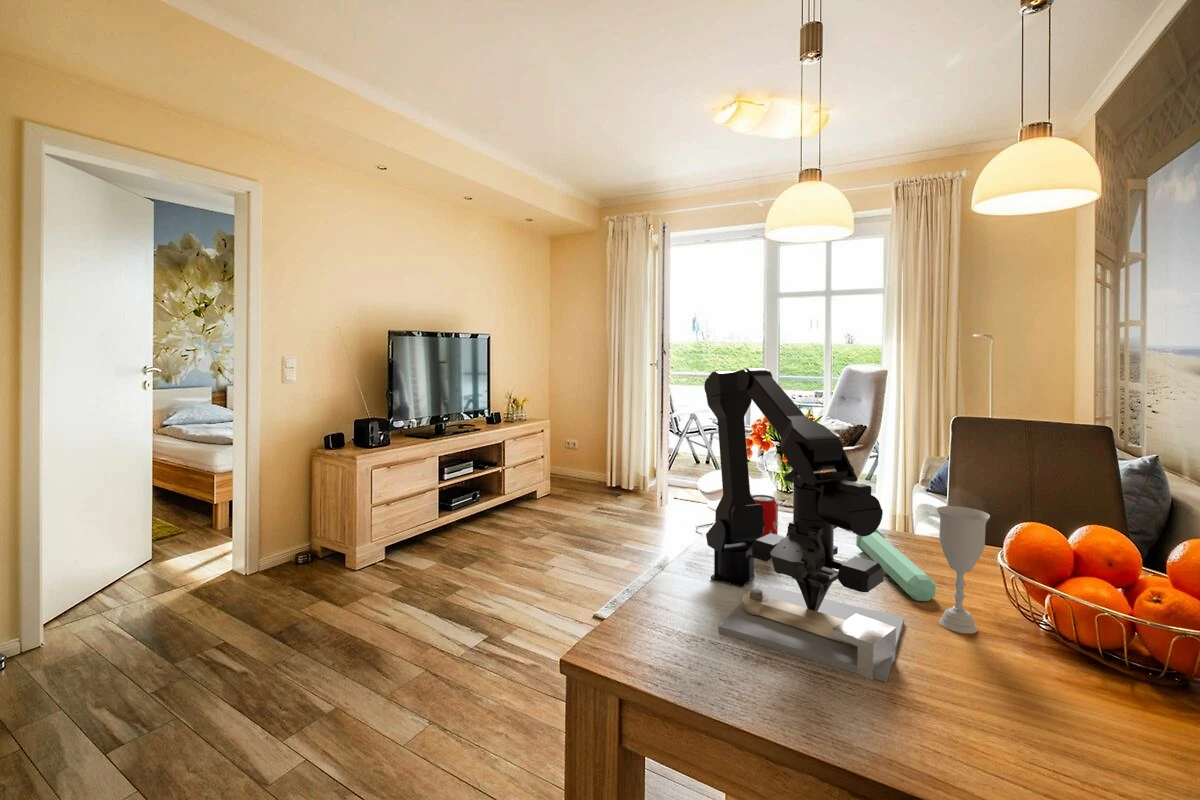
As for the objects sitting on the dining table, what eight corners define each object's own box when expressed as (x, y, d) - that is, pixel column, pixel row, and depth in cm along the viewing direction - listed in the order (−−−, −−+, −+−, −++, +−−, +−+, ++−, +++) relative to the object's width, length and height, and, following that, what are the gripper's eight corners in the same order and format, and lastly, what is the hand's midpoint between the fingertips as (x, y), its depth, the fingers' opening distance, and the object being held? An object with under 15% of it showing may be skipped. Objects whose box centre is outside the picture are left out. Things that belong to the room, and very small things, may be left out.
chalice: (994, 639, 81) (1000, 520, 80) (943, 634, 82) (948, 518, 81) (971, 616, 88) (976, 507, 87) (925, 612, 90) (929, 505, 88)
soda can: (778, 558, 114) (779, 502, 114) (747, 556, 116) (748, 500, 115) (775, 548, 121) (776, 494, 120) (746, 546, 122) (746, 493, 121)
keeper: (831, 662, 75) (832, 628, 75) (855, 645, 80) (856, 613, 79) (872, 680, 71) (873, 644, 71) (895, 660, 75) (896, 627, 75)
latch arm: (738, 610, 88) (738, 592, 88) (750, 601, 91) (750, 584, 91) (863, 651, 76) (864, 630, 75) (872, 640, 79) (873, 619, 78)
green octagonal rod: (936, 570, 92) (878, 523, 117) (901, 581, 93) (851, 533, 118) (949, 601, 93) (888, 548, 117) (914, 613, 93) (861, 557, 118)
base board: (718, 632, 84) (718, 626, 84) (760, 589, 99) (760, 583, 99) (886, 682, 70) (886, 674, 70) (904, 623, 86) (904, 617, 86)
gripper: (730, 514, 85) (731, 610, 86) (848, 544, 71) (848, 659, 72) (770, 499, 92) (771, 588, 94) (886, 524, 78) (884, 628, 79)
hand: (813, 613), depth 84 cm, fingers closed
